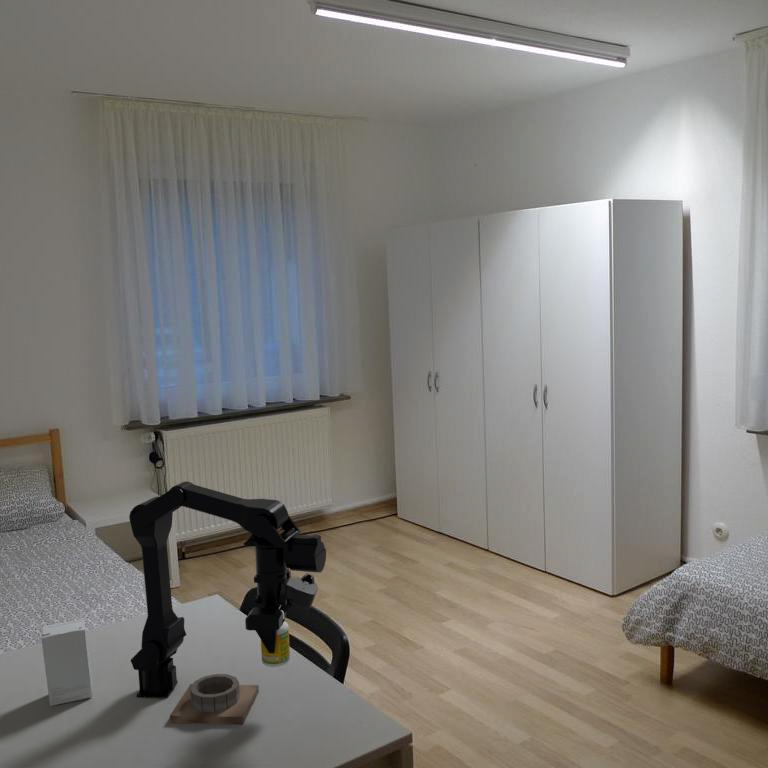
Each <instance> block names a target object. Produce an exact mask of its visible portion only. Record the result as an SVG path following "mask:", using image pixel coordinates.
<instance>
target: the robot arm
mask: <svg viewBox="0 0 768 768" xmlns="http://www.w3.org/2000/svg"><path fill="white" fill-rule="evenodd" d="M182 507H184V508H188V509H191V510H194V511H196V512H201V513H204V514H208V515H211V516H214V517H218V518H221V519H225V520H228V521H230V522H233V523H236V524H237V525H239V527H241V529H243V530H244V531H245V532H247V533H250V534H251V535H250V536H249V538H248V539H246V541H244V542H243V544H244V546H245V547H255V548H254V551H255V552H254V553H255V554H254V555H255V572H256V574H255V575H254V577H253V583H254V584H256V589H257V594H256V596H255V597H254V603H255V605H256V604H257V605H258V604H259V605H260V604H261V606H260V607H259V606H258V607H257V606H255V607H253V608H252V609H251V610H250V611H249V613H248V614H247V616H246V618H244V619H245V621H244V622H245V630H247V631H255V632H256V634H257V636H258V637H259V638H260V641H261V640H262V642H263V644H264V646H265V647H266V649H267V651H268V652H269V653H274V652H275V647H276V639H277V630H279V629H280V627H281V626H282V625H283V623H284V621H285V622H286V616H287V612H288V611H289V610H290V609H291V607H293V605H297V606H299V607H301V608H303V609H305V610H310V609H311V608H312V605H313V603H314V601H315V598H316V595H317V591H318V588H319V586H318V584H317V583H315V576H314V574H311V573H319V574H320V573H322V572H323V570H324V569H325V565H326V561H327V549H326V547H325V544H324V542H323V541H322V536H321V535H320V534H312V535H309V534H308V535H307V534H300V533H301V530H300V528H299V527H298V525H297V524H296V523H295V522H294V521H293V519H292V517H291V516H290V515H289V513H288V510H287V508H286V506H285V504H284V503H283V502H282V501H280V500H276V499H268V498H251V499H249V498H242V497H239V496H236V495H231V494H228V493H225V492H220V491H217V490H214V489H210V488H207V487H204V486H200V485H197V484H194V483H192V482H190V481H182V482H180V483H178V484H175V485H174V486H172V487H170V489H169V490H167V491H166V492H165V493H164V494H161V495H160V496H153V497H151V498H149V499H148V500H145V501H143V502H141V503H138V504H137V505H135V506H134V507H133V508H132V509H131V510H130V512H129V517H128V518H129V523H130V528H131V531H132V534H133V537H134V539H135V540H136V542H138V544H139V545H140V548H141V555H142V556H141V557H142V567H143V578H144V579H143V581H144V588H145V601H146V611H147V612H146V613H147V617H146V620H145V623H144V626H143V630H142V634H141V647H140V648H141V649H139V651H137V653H136V654H135V655H134V656H133V657H132V658H131V659H130V663H131V665H132V667H133V670H135V671H137V672H138V673H137V674H138V685H139V688H138V689H139V690H138V691H137V693H136V698H147V699H148V698H154V699H155V698H156V699H158V698H159V699H161V698H162V699H163V698H164V699H166V698H169V696H170V695H171V693H172V692H173V690H174V689H175V688H176V687H177V684H178V679H177V666H176V665H174V658H173V656H174V655H176V653H177V651H178V648H179V647H180V646H181V645H182V644H183V642H184V637H186V636H187V632H186V630H185V617H184V616H181V617H178V615H176V613H175V612H174V609H173V599H172V590H171V578H170V577H171V576H170V568H169V567H170V566H169V565H170V564H169V556H168V555H169V554H168V539H169V535H170V532H171V530H172V527H173V514H174V512H175V511H177V510H179V509H180V508H182ZM281 529H282V530H283V531H282V532H281V533H279V531H280V530H281ZM291 571H293V572H294V571H295V572H306V573H305V574H304V575H303V576H301V577H299V576H298V577H297V578H295V577H292V572H291ZM281 610H282V611H283V612H284V619H283V612H282V611H281Z"/></svg>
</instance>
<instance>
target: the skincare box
mask: <svg viewBox="0 0 768 768" xmlns="http://www.w3.org/2000/svg"><path fill="white" fill-rule="evenodd" d="M85 622H86V621H85V618H80V619H75V620H71V621H66V622H60V623H53V624H50V625H48V624H47V625H43V626H42V631H41V632H42V633H41V638H40V640H41V645H42V646H41V647H42V653H43V661H44V662H43V664H44V669H45V670H44V671H45V676H46V683H47V692H48V700H49V706H50V707H52V706H56V705H58V706H59V705H61V704H67V703H72V702H75V701H76V702H77V701H81V700H85V699H90V698H92V697H93V681H92V672H91V671H92V670H91V664H90V654H89V646H88V638H87V637H88V636H87V629H86V623H85Z"/></svg>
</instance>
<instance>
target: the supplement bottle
mask: <svg viewBox="0 0 768 768" xmlns="http://www.w3.org/2000/svg"><path fill="white" fill-rule="evenodd" d="M281 611H282V610H281ZM282 612H283V611H282ZM283 619H284V612H283ZM289 627H290V626H289V624H288V622H287V621H286V620H285V621H284V623H283V625H282V626H281V627H280V629H279V630H277V639H276V647H275V652H274V653H269V652H268V651H267V649H266V647H265V646H264V644H263V642H262V640H261V639H260V649H261V663H262V664H263V665H264V666H265V667H269V668H270V667H271V668H276V667H283V666H285V665H287V664H288V663H289V662H290V659H291V655H290V653H291V652H290V651H291V650H290V634H289V633H290V630H289V629H290V628H289Z"/></svg>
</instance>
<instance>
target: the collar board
mask: <svg viewBox="0 0 768 768" xmlns="http://www.w3.org/2000/svg"><path fill="white" fill-rule="evenodd" d="M259 690H260V689H259V685H258V684H240V682H239V680H238V678H237V677H236V676H233V675H230V674H227V673H216V674H210V675H205V676H202V677H200V678H199V679H196V680H194V681H193V683H190V684H189V686H188V688H187V689H186V690H185V692H184V693H183V695H182V696H181V698H180V699H179V701H178V703H177V704H176V705H175V707H174V708H173V710H172V711H171V712H170V714H169V722H170V724H193V725H194V724H200V725H207V724H208V725H240V726H241V725H243V726H244V725H245V722H246V720H247V717H248V715H249V713H250V711H251V710H252V707H253V705H254V703H255V701H256V698H257V697H258V694H259V692H260V691H259Z"/></svg>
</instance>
